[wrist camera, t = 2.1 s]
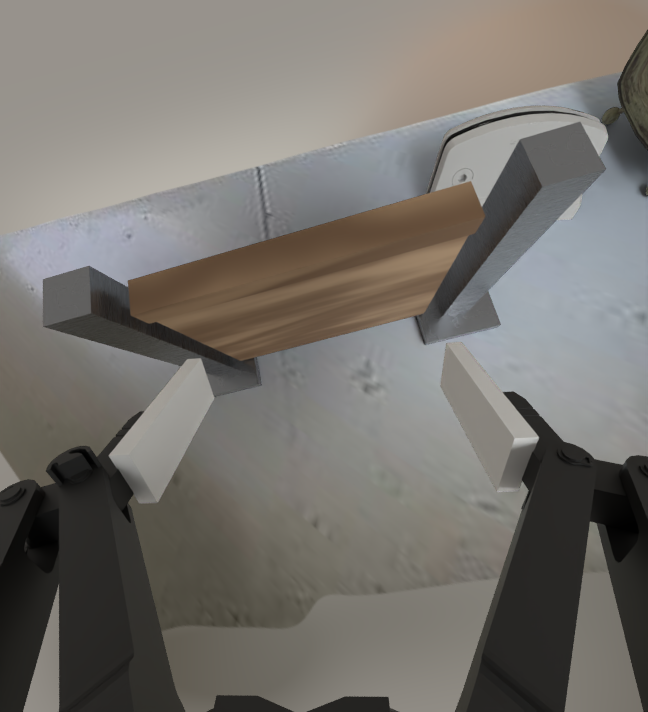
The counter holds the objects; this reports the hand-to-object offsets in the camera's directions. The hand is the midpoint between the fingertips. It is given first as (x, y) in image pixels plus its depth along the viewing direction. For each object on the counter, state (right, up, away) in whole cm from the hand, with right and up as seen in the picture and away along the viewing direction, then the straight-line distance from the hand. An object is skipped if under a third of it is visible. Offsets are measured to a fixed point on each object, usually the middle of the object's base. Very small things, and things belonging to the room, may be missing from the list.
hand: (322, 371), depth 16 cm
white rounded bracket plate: (+21, +20, +20) cm, 36 cm away
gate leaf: (0, +4, +18) cm, 18 cm away
